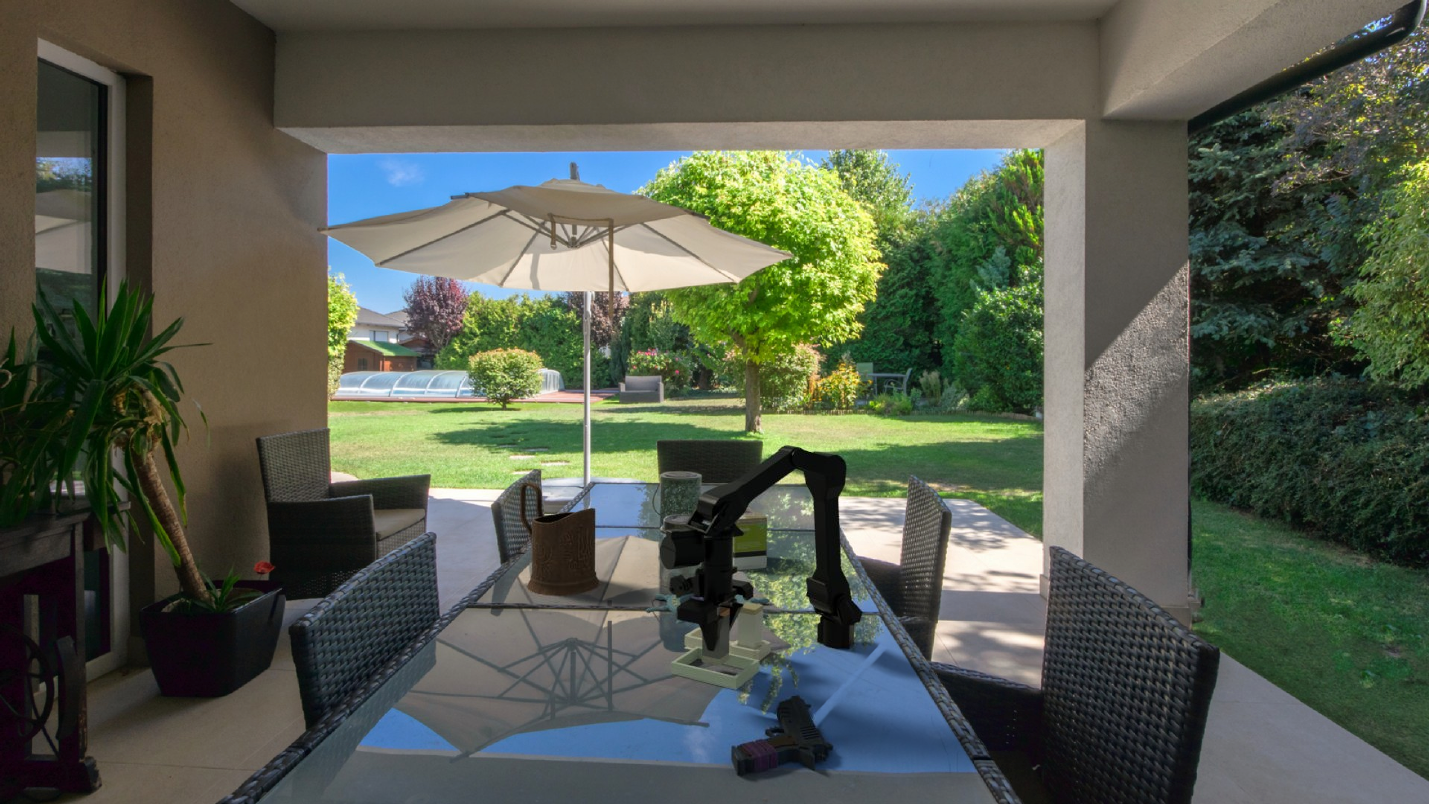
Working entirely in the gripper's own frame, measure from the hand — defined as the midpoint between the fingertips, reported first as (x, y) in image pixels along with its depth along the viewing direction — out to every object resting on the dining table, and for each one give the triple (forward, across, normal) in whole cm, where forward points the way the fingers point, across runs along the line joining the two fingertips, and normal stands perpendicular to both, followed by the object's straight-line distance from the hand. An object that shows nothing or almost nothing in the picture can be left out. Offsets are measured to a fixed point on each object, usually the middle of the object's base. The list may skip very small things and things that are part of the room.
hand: (716, 647), depth 137 cm
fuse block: (+6, -11, -4) cm, 13 cm away
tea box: (+6, -73, -32) cm, 80 cm away
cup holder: (+6, -30, -64) cm, 71 cm away
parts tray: (+6, 0, 0) cm, 6 cm away
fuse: (+5, -11, +2) cm, 12 cm away
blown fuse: (+2, 0, 0) cm, 3 cm away
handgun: (+6, +15, +19) cm, 25 cm away
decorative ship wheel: (+6, -33, -20) cm, 39 cm away
